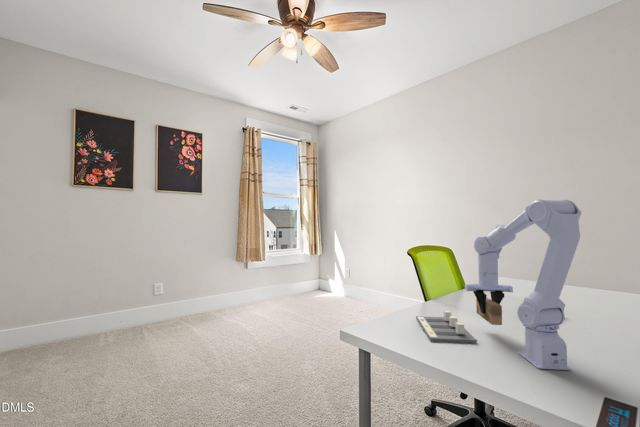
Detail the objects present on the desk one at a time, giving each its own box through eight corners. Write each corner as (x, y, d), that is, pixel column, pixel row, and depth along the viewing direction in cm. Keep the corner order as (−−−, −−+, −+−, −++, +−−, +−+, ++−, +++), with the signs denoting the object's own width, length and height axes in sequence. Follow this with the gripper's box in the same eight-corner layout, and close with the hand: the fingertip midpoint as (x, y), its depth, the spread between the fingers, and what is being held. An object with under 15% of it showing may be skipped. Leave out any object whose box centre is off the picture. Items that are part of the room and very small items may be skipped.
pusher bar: (502, 325, 94) (501, 306, 94) (492, 324, 95) (491, 305, 95) (485, 313, 106) (485, 296, 106) (476, 313, 106) (476, 296, 107)
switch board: (476, 343, 93) (476, 339, 93) (430, 341, 95) (430, 337, 95) (453, 320, 115) (453, 317, 115) (416, 318, 116) (416, 315, 117)
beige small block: (464, 334, 97) (463, 324, 97) (457, 334, 97) (457, 324, 97) (461, 332, 99) (461, 322, 99) (455, 331, 99) (455, 322, 99)
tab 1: (451, 321, 110) (451, 312, 110) (445, 320, 110) (445, 312, 110) (449, 319, 112) (449, 310, 112) (443, 319, 112) (443, 310, 112)
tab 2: (457, 327, 103) (457, 318, 103) (451, 327, 104) (451, 318, 104) (455, 325, 105) (455, 316, 105) (449, 325, 106) (449, 316, 106)
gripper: (505, 270, 104) (505, 310, 103) (461, 270, 105) (461, 308, 105) (515, 274, 97) (516, 316, 96) (469, 273, 98) (469, 315, 98)
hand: (488, 313), depth 100 cm, fingers closed on pusher bar, 3 cm apart
